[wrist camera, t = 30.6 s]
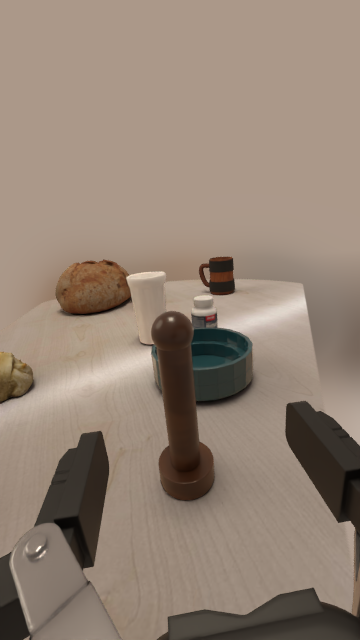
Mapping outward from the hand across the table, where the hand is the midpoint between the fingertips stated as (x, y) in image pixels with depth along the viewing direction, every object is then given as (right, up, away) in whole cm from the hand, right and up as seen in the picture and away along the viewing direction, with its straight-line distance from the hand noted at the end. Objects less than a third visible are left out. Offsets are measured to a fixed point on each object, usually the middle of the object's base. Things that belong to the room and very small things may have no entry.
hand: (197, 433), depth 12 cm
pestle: (0, -10, +15) cm, 18 cm away
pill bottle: (+5, +1, +47) cm, 47 cm away
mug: (+12, +14, +85) cm, 87 cm away
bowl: (+3, -4, +32) cm, 32 cm away
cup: (-6, 0, +48) cm, 49 cm away
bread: (-29, +10, +83) cm, 89 cm away
